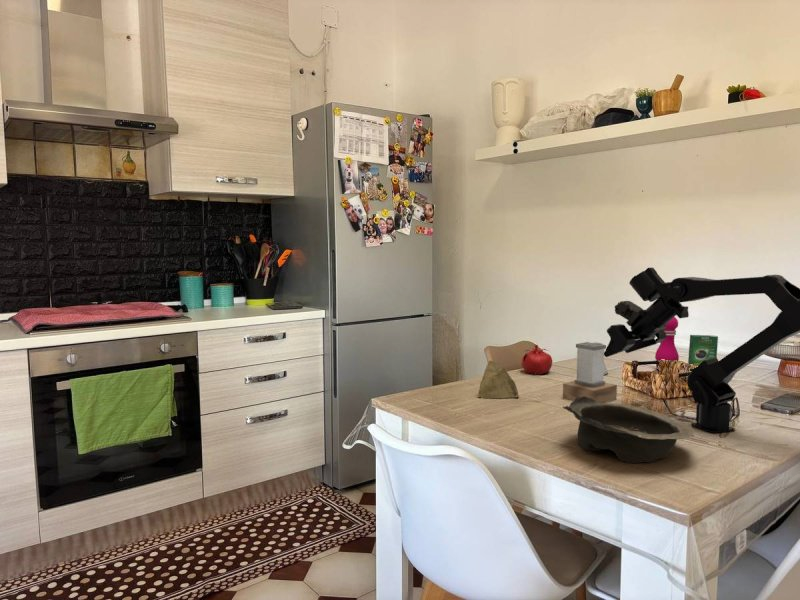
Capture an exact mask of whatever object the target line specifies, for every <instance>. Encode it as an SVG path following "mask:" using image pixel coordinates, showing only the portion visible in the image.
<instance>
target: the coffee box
mask: <svg viewBox="0 0 800 600" xmlns="http://www.w3.org/2000/svg"><path fill="white" fill-rule="evenodd" d="M718 343H719V336H718V335H712V334H709V335H708V334H707V335H706V334H703V335H702V334H690V335H689V345H688V359H687V360H688V361H687V364H688V363H689V364H693V365H695V366H699V364H700V363H701V362H703V361H704V360H708V359H712V358H717V359H718V346H719V345H718Z"/></svg>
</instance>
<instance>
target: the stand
mask: <svg viewBox="0 0 800 600" xmlns="http://www.w3.org/2000/svg"><path fill="white" fill-rule="evenodd" d="M617 390H618V385H617V384H614V383H608V382H605V385H603V386H599V387H595V388H592V387H588V386H583V385H579V384H575V380H572V381H569V382H564V383H563V384H562V399H567V400H570V401H575V399H576V398H581V397H584V396H585V397H587V398H592V399H593V400H595V401H597V402H599V403H602V404H604V403H609V402H613V401H616V400H617Z"/></svg>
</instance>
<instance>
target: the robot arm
mask: <svg viewBox="0 0 800 600" xmlns="http://www.w3.org/2000/svg"><path fill="white" fill-rule="evenodd" d="M629 285H630V286H631V288H632V289H633V290H634V291H635V293H637V295H638V296H639V297H640V299H641V300H642V301H643V302H648V301H649V302H651V304H650V305H649V306H648V307H647V308H646V309H643V307H641V306H639V305H637V304H636V303H634V302H633V301H631V300H623V301H622V300H620V301H619V302H617V304H616V305H614V313H615V314H616V315H617V316H618V315H619V316H621V318H623V319H625V320H627V321H626V324H627V326H629V327H630V330H629V328H627V326H626V325H625V324H620V323H619V324H612V325H610V326H609V327H608V328H607V329H606V333H607V334H608V336H609V337H610V340H609V343H608V344H607V345H606V349H604V358H605V357H606V358H608V357H611V356H614V355H616V354H619V353H623V352H625V353H626V354H628V353H629V354H630V353H632V352H636V351H640V350H642V349H646V348H647V347H651V346H654V345H657V344H660V343H661V342H662V341H663V340H664V339H666V332H665V331H664V330H663V329H665V328H666V327H667V326H666V324H667V323H668V322H669V321H670V320H671V319H673V318H674V317H675V318H676V317H678V318H679V319H685V318H689V316H690V315H689V306H685V305H683V304H682V303H687V302H694V301H695V302H696V301H700V300H705V299H708V298H711V297H712V298H713V297H716V296H717V297H718V296H738V295H759V294H760V295H761V294H763V295H764V294H765V295H766V296H767V297H768V298H769V299H770V300H771V302H772V303H773V304H774V306H776V307H777V308H778V309H779V310H780V312H779V313H778V314H777V316H776V317H775V318H774V320H773V322H772V323H771V324H770V325H769V326H767V327H765V328H764V329H763V330H761V331H760V332H758V333H756V335H754V336H752V338H750V339H749V340H747V341H746V342H744V343H743V344H742V345H740V346H738V347H736V349H734V350H733V351H731V352H730V353H728V354H727V355H726V356H724V357H722V358H721V359H720V360H719V359H718V357H717V358H712V359H708V360H704V361H703V362H701V363H700V364H699V366H698V367H696V368H694V369H690V371H692V373H690V374H689V375H688V374H687V375H688V376H687V377H686V380H687V382H686V383H687V387H688V390H689V391H691V395H692V398H693V401H694V403H695V404H696V411H695V412H696V414H695V422H691V425H690V426H691V427H692V426H693V427H695V428H698V429H700V430H703V431H706V432H709V433H710V434H711V433H712V434H717V433H718V434H719V433H727V432H733V431H735V429H736V428H734V427H732V426H730V420H731V417H730V416H731V404H730V403H729V402H734V400H735V397H736V395H737V393H736V391H735V390H734V389H733V388H732V386H731V385H729V383H730V382H731V381H732V379H733V378H734V377H735V375H736V374H737V373H738V372H740V371H741V370H742V369H744V368H746V366H748V365H750V364H752V363H753V362H754V361H756V360H758V358H760V357H761V356H763V355H764V354H767V353H768V352H769V351H771V350H772V349H774V348H775V347H777V346H778V345H780V344H781V343H783V342H784V341H786V340H788V339H789V338H790V337H793V336H795V335H798V334H800V287H798V286H796V285H795V284H793V283H791V282H790V281H789V280H787V279H786V278H785V277H784V276H782V275H780V274H767V275H763V276H753V277H752V276H751V277H741V278H740V277H739V278H737V277H736V278H728V279H727V278H724V279H714V278H713V279H712V278H706V277H696V276H688V277H687V276H686V277H677V278H674V279H672V280H671V281H668V282H667V281H666V282H665V281H664V279H662V277H661V276H660V274H658V272H657V270H656V269H655V267H647V268H646V269H645V270H643V271H641V272H639V273H638V274H637V275H636V274H635V275H633V277H632V278H631V279H630V281H629ZM652 302H653V303H652Z"/></svg>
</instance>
